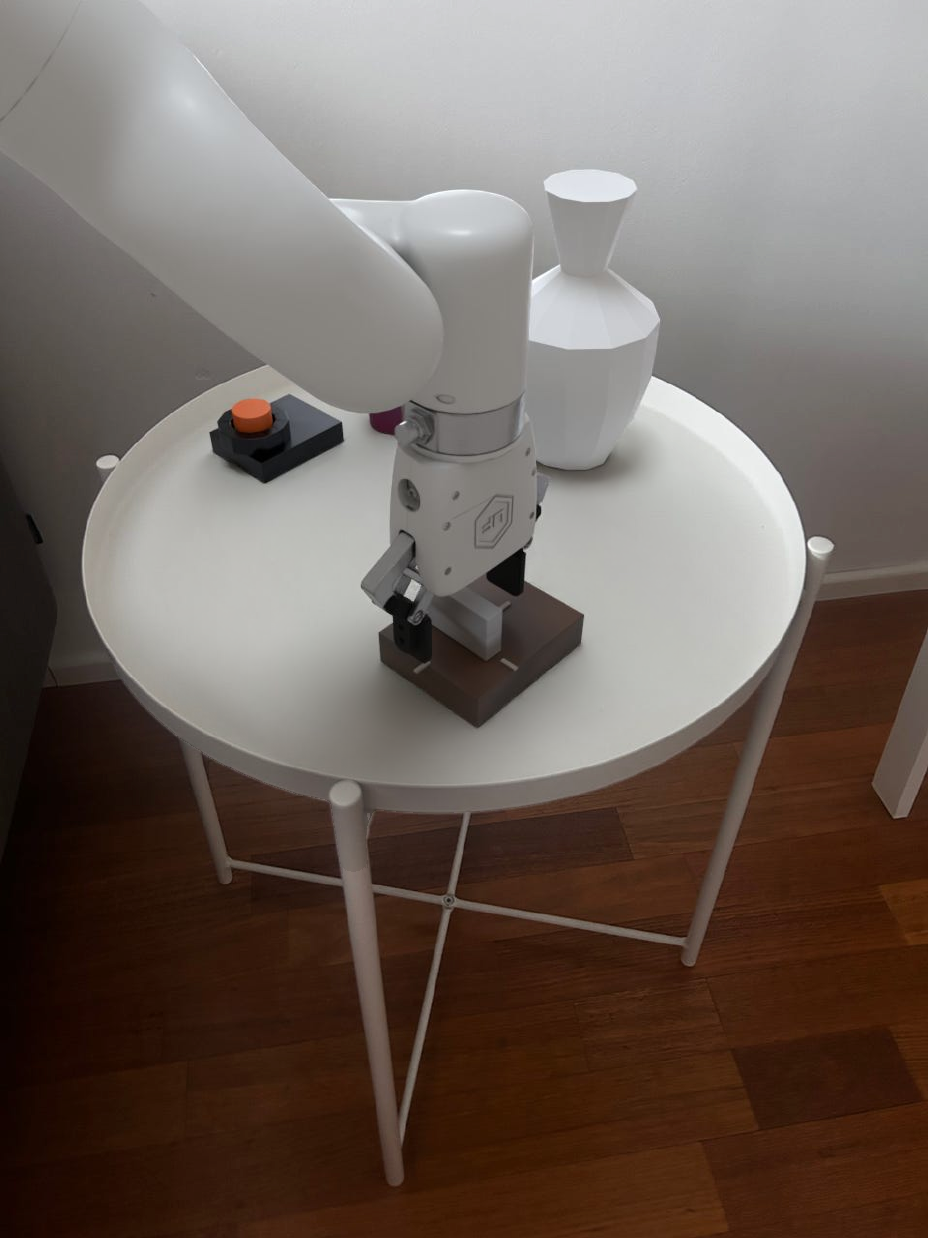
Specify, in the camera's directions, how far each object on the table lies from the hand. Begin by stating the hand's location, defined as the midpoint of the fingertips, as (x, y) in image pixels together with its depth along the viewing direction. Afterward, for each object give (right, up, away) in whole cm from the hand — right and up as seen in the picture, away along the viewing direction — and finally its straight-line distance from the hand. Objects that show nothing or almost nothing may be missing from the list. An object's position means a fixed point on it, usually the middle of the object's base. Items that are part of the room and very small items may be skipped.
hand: (460, 618), depth 73 cm
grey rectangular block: (0, -1, +1) cm, 2 cm away
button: (-20, +18, +22) cm, 35 cm away
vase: (+10, +17, +26) cm, 32 cm away
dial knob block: (+2, -3, +4) cm, 5 cm away
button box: (-18, +17, +26) cm, 36 cm away
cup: (-7, +20, +29) cm, 36 cm away
